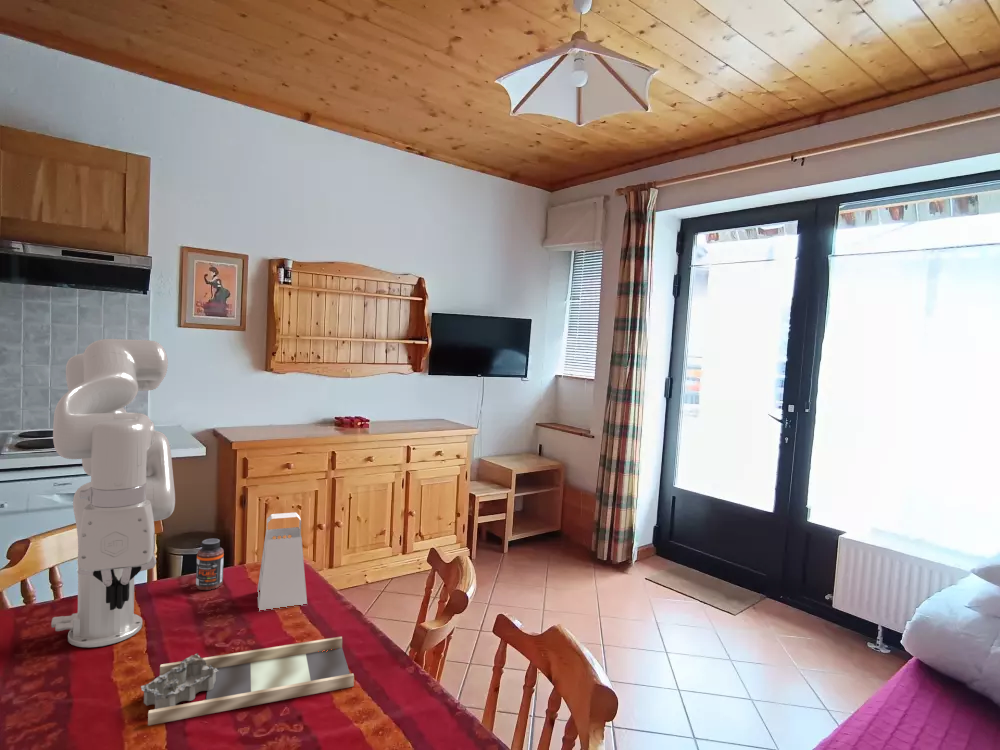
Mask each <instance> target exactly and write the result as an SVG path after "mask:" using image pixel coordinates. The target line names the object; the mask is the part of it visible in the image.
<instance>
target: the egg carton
mask: <svg viewBox="0 0 1000 750" xmlns="http://www.w3.org/2000/svg"><path fill="white" fill-rule="evenodd" d="M203 658H204V657H201V656H200V655H199V652H198V653H195V654H194V655H193V654H191V655H189V656H188V657H186V658H185V659H183V660H182V661H180V662H181V664H180V665H179V666H177V667H175V668H172V669H171V670H170V671H169V672H167V673H165V674H164V675H160V674H159V676H157V677H156V678H154V679H153V680H152V681H150V682H148V683H146V684H144V685H141V686H140V688H141V691H142V692H143V704H144V705H145V706H147V707H148V706H151V705H154V709H159V708H165V707H170V706H176V705H178V704H179V703H181V702H185V701H187V702H190V701H194V700H195V698H196V695H197V694H198V693H199V692H207V691H210V690H212V689H213V687H214V683H215V681H216V672H219V671H218V670H217V669H216V668H215V669H214V668H213V667H212V665H210V666H209V667H208V666H207V664H206V662H205V660H204V659H203Z"/></svg>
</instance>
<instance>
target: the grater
mask: <svg viewBox="0 0 1000 750" xmlns="http://www.w3.org/2000/svg"><path fill="white" fill-rule="evenodd" d="M287 518H298V519H299V526H297V527H286V528H285V527H284V528H273V529H268V524H269V523H270V521H271V520H273V519H287ZM284 536H285V538H284ZM289 536H291V537H289ZM274 537H275V538H274ZM278 537H280V538H278ZM302 539H303V538H302V520H301V517H300V515H299V514H298V513H297V512H283V513H272V514H271V513H270V514H269V516H268V517H267V518H266V530H265V537H264V542H263V550H262V557H261V562H260V563H261V564H260V570H259V576H258V582H257V583H258V584H257V591H256V593H257V592H258V597H257V608H259V611H258V612H261V611H260V610H264V611H267V610H266V609H271V610H274V609H273V608H279V609H281V608H280V607H286V608H288V607H287V606H294V605H301V606H304V605H303V604H307V605H308V600H307V599H308V598H307V585H306V576H305V575H306V574H305V561H304V553H303V552H304V550H303V540H302ZM259 590H260V592H259ZM294 607H295V606H294Z"/></svg>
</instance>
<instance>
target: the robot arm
mask: <svg viewBox="0 0 1000 750" xmlns="http://www.w3.org/2000/svg"><path fill="white" fill-rule="evenodd" d="M168 364H169V362H168V355H167V352H166V350H165V348H164V347H163V345H162V344H161V343H160V342H157V341H155V340H151V339H150V340H149V339H147V340H146V339H126V338H125V339H122V338H121V339H120V338H106V339H105V338H104V339H98V340H96V341H93V342H92V343H90V344H88V346H86V348H85V350H84V352H82V353H78V354H75V355H73V356H72V357H70V358H69V359H68V360H67V362H66V366H65V380H66V386H67V390H68V391H67V392H66V393H64V394H63V395H62V397H60V399H59V401H58V402H57V404H56V406H55V409H54V414H53V426H52V427H53V429H52V441H53V445H54V446H53V447H54V450H55V452H56V453H57V454H58V456H60V457H62V458H64V459H68V460H81V462H82V463H81V465H82V468H83V470H84V472H85V474H86V475H88V476H89V477H90V481H89V482H86V483H84V484H82V485H81V486H80V487H78V488H77V490H75V492H74V495H73V498H72V499H73V501H72V509H73V512H74V520H75V525H76V534H77V612H76V613H71V615H66V616H64V615H61V616H54V617H52V619H51V623H50V624H51V625H50V626H51V628H55V632H60V631H61V632H62V631H65V630H69V631H68V634H67V642H68V643H69V644H71V645H72V646H74V647H78V648H98V647H105V646H110V645H113V644H116V643H119V642H122V641H125V640H127V639H130V638H131V637H132V636H135V635H136V634H137V633H139V631H141V629H142V627H143V618H142V617H141V616H140V615H138V614H136V613H134V612H135V577H136V576H137V575H138V574H139V573H140V572H143V571H147V570H151V569H153V568H155V567H156V565H157V559H156V555H155V550H156V533H155V531H156V530H155V522H157V521H161V520H162V521H163V520H165V519H168V518H169V517H171V515H172V514H173V512H174V511H175V506H176V491H175V482H174V471H173V460H172V459H173V458H172V452H171V444H170V442H169V439H168V437H167V436H166V435H165V434H164V433H163V432H161V431H157V430H155V424H154V421H152V420H151V419H150V417H149V416H148V415H147V414H145V413H140V412H127V410H126V409H125V407H127V406H128V405H129V404H131V403H132V402H133V401H134V400H135V398H136V396H137V395H138V392H144V391H145V392H146V391H154V390H156V389H157V388H159V386H160V385H161V383H162V382H163V381H164V379H165V377H166V375H167V372H168V368H169V367H168V366H169V365H168Z"/></svg>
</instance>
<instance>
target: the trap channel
mask: <svg viewBox="0 0 1000 750" xmlns="http://www.w3.org/2000/svg"><path fill="white" fill-rule="evenodd" d="M331 649H332V650H331ZM335 649H336V650H335ZM323 650H325V651H323ZM327 650H328V651H327ZM318 651H319V652H318ZM322 651H323V652H322ZM326 651H327V652H326ZM202 658H203V659H204V660H205V662H206V664H207V666H208V667H209V666H210V665H212V667H213V668H214V669H215V668H216V669H217V670H218V671H219V672H216V681H215V683H214V687H213V689H212V690H210V691H206V698H205V699H203V700H199V701H193V702H187V703H183V704H176V705H175V706H170V707H165V708H159V709H155V708H154V709H150V710H148V713H147V717H148V718H147V726H153V725H159V724H164V723H168V722H175V721H181V720H184V719H189V718H194V717H200V716H206V715H211V714H215V713H221V712H226V711H231V710H236V709H241V708H248V707H252V706H258V705H263V704H268V703H274V702H279V701H285V700H290V699H294V698H300V697H305V696H311V695H315V694H320V693H321V694H322V693H326V692H333V691H337V690H343V689H348V688H351V687H354V685H355V683H354V682H355V675H354V673H351V672H350V670H349V666H348V663H347V659H346V657H345V653H344V650H343V636H337V637H329V638H323V639H317V640H311V641H310V640H309V641H303V642H296V643H291V644H284V645H279V646H278V645H277V646H272V647H265V648H258V649H253V650H252V649H251V650H246V651H240V652H239V651H238V652H233V653H228V654H220V655H214V656H208V657H202ZM180 664H181V661H176V662H169V663H163V664H160V666H159V676H160V675H164V674H165V673H167V672H169V671H170V670H171V669H172V668H175V667H177V666H179V665H180Z"/></svg>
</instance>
